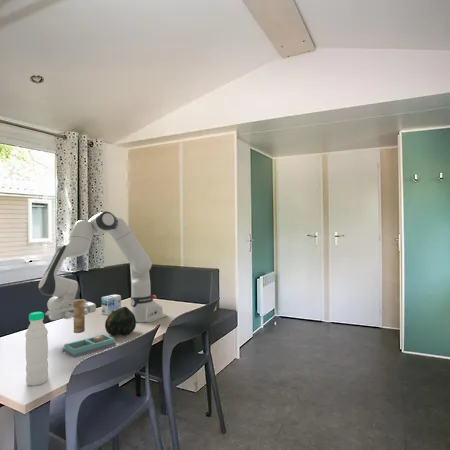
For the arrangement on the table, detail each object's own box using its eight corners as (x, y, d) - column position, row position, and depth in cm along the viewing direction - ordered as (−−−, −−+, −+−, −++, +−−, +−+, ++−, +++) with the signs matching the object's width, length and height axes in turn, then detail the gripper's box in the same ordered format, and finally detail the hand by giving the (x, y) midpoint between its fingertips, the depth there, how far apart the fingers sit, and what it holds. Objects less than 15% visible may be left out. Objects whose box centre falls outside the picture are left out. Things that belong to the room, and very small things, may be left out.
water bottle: (53, 379, 123) (51, 311, 123) (36, 387, 116) (35, 316, 116) (38, 376, 125) (37, 309, 125) (21, 385, 119) (20, 314, 119)
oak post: (82, 329, 153) (81, 298, 153) (86, 331, 150) (86, 300, 150) (72, 331, 150) (71, 300, 150) (76, 333, 147) (76, 301, 147)
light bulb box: (108, 315, 209) (107, 298, 209) (101, 314, 213) (100, 297, 213) (121, 311, 218) (121, 295, 218) (114, 310, 222) (114, 294, 222)
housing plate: (104, 339, 165) (104, 332, 165) (116, 344, 157) (115, 337, 157) (62, 351, 150) (62, 343, 150) (73, 357, 142) (72, 349, 142)
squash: (100, 321, 176) (107, 303, 169) (127, 317, 185) (135, 300, 178) (106, 345, 168) (113, 327, 160) (135, 340, 177) (143, 323, 169)
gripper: (43, 306, 151) (55, 311, 142) (87, 298, 166) (101, 303, 157) (43, 320, 151) (55, 326, 142) (87, 311, 166) (101, 316, 157)
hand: (80, 314), depth 150 cm, fingers closed on oak post, 4 cm apart
